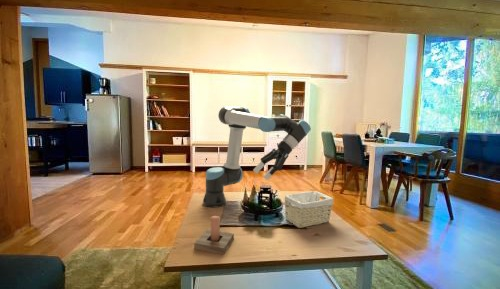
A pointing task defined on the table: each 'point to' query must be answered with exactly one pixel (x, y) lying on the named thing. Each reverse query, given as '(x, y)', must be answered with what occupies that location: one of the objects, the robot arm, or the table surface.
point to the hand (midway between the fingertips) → (259, 175)
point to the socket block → (212, 246)
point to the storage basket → (308, 208)
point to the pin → (215, 228)
